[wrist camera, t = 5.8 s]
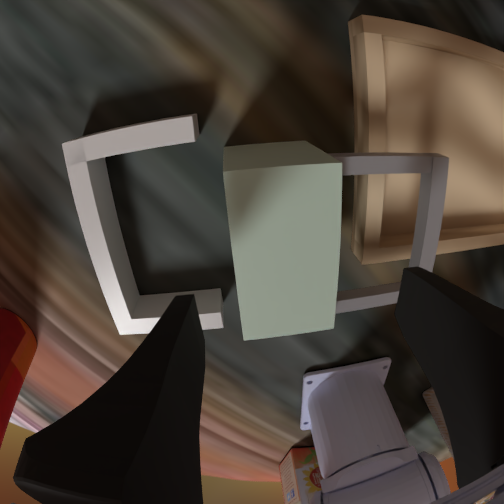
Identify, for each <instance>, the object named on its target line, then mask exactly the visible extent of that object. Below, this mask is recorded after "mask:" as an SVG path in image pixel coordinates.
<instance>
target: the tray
mask: <svg viewBox="0 0 504 504" xmlns="http://www.w3.org/2000/svg"><path fill="white" fill-rule="evenodd" d="M348 27H349V38H350V49H351V62H352V78H353V98H354V144H355V153H367V152H399V153H439V154H441V155H444V156H446V157H449V167H448V178H447V187H446V195H445V203H444V210H443V217H442V224H441V230H440V235H439V241H438V246H437V251H436V255H438V254H444V253H451V252H458V251H464V250H471V249H477V248H483V247H490V246H496V245H502V244H504V52H501V51H499V50H497V49H494V48H491V47H489V46H486V45H484V44H481V43H478V42H475V41H472V40H469V39H467V38H463V37H460V36H457V35H454V34H451V33H447V32H444V31H440V30H437V29H433V28H429V27H425V26H421V25H417V24H412V23H408V22H403V21H398V20H393V19H387V18H382V17H375V16H369V15H360V16H358V17H356V18H354V19H352V20H350V21H349V22H348ZM420 178H421V173H401V174H365V175H354V201H353V223H352V240H351V250H352V252H353V253H354V254H355V256H356V257H357V259H358V260H359V261H360V263H361V264H362V265H365V264H373V263H380V262H388V261H395V260H402V259H410V257H411V251H412V245H413V239H414V232H415V225H416V217H417V209H418V200H419V190H420Z"/></svg>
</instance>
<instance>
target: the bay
mask: <svg viewBox="0 0 504 504" xmlns="http://www.w3.org/2000/svg"><path fill="white" fill-rule="evenodd" d="M198 137H199V126H198V118H197V114H189V115H183V116H176V117H170V118H164V119H158V120H153V121H147V122H142V123H137V124H132V125H127V126H123V127H118V128H114V129H109V130H105V131H101V132H97V133H93V134H89V135H85V136H81V137H79V138H76V139H73V140H70V141H68V142H65V143H62V146H63V151H64V156H65V161H66V166H67V171H68V175H69V180H70V184H71V188H72V193H73V197H74V201H75V205H76V208H77V212H78V216H79V219H80V223H81V227H82V230H83V233H84V237H85V240H86V243H87V247H88V250H89V253H90V256H91V259H92V262H93V265H94V268H95V271H96V274H97V277H98V280H99V282H100V285H101V288H102V291H103V293H104V296H105V299H106V301H107V304H108V307H109V309H110V312H111V314H112V317H113V319H114V322H115V324H116V326H117V329H118V331H119V334H120V335H122V334H145V333H150V331H151V330H152V329H153V327H154V326H155V325H156V323H157V322H158V320H159V319H160V317H161V316H162V314H163V313H164V312H165V310H166V309H167V307H168V306H169V304H170V303H171V301H172V300H173V298H174V297H175V296H177V295H188V294H194V296H195V300H196V305H197V309H198V313H199V318H200V322H201V326H202V330H204V329H216V328H223V299H222V293H221V288H217V289H207V290H197V291H186V292H175V293H164V294H152V295H139V292H138V289H137V285H136V282H135V279H134V276H133V272H132V269H131V265H130V262H129V258H128V255H127V251H126V248H125V244H124V240H123V236H122V232H121V229H120V225H119V221H118V217H117V212H116V208H115V204H114V199H113V195H112V190H111V186H110V181H109V176H108V171H107V166H106V161H105V157H108V156H113V155H118V154H123V153H128V152H133V151H139V150H144V149H150V148H156V147H162V146H168V145H174V144H181V143H188V142H195V141H196V139H197V138H198Z"/></svg>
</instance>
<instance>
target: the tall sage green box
mask: <svg viewBox="0 0 504 504" xmlns="http://www.w3.org/2000/svg"><path fill="white" fill-rule="evenodd" d="M448 167H449V157H446V156H444V155H441V154H439V153H399V152H367V153H328V154H327V153H325V152H324V151H322V150H320V149H319V148H317V147H315V146H314V145H312V144H310V143H309V142H307V141H288V142H273V143H260V144H248V145H238V146H228V147H224V158H223V177H224V186H225V195H226V203H227V212H228V221H229V229H230V237H231V245H232V254H233V262H234V270H235V277H236V285H237V293H238V301H239V308H240V316H241V323H242V331H243V338H244V340H253V339H262V338H270V337H278V336H286V335H294V334H301V333H308V332H315V331H321V330H327V329H334V320H335V314H336V313H342V312H348V311H354V310H360V309H366V308H372V307H378V306H383V305H389V304H394V303H397V300H398V295H399V290H400V285H401V282H396V283H390V284H384V285H378V286H372V287H365V288H359V289H352V290H345V291H338V292H337V286H338V272H339V256H340V237H341V211H342V175H365V174H401V173H421V178H420V190H419V200H418V209H417V217H416V225H415V232H414V239H413V245H412V251H411V257H410V263H409V268H410V267H416V266H418V267H421V268H423V269H425V270H428V271H430V272H432V270H433V266H434V261H435V256H436V251H437V246H438V241H439V235H440V230H441V224H442V217H443V210H444V203H445V195H446V187H447V178H448Z"/></svg>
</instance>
